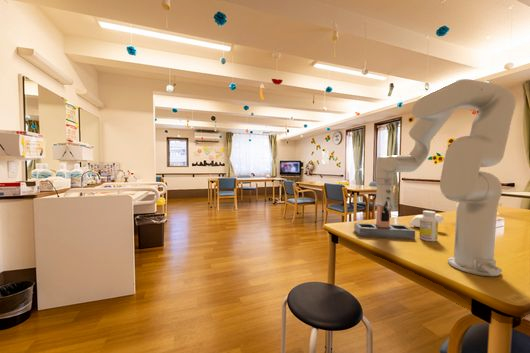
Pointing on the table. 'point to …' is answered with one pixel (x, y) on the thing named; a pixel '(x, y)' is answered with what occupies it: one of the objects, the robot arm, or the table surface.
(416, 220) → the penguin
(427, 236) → the supplement bottle
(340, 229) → the table surface
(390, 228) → the grey compartment tray
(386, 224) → the peg
